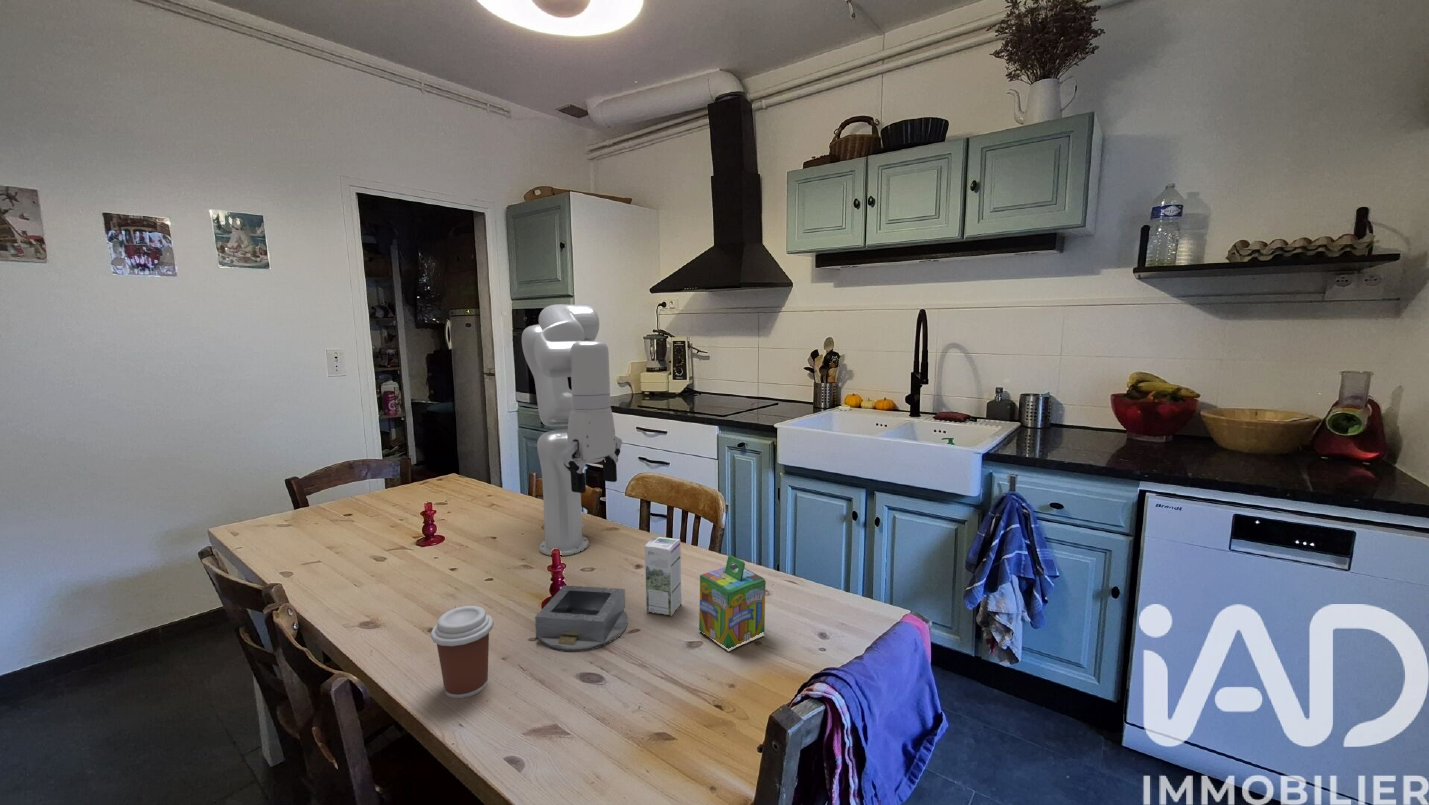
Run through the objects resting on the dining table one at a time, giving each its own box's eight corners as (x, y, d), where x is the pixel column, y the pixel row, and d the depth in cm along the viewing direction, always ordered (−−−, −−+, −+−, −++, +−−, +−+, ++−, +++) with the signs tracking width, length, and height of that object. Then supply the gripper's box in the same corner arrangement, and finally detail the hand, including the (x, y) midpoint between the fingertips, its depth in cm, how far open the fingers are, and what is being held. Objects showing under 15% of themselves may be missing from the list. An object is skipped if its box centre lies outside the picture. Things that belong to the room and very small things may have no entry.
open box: (559, 603, 118) (558, 580, 118) (637, 608, 116) (637, 585, 115) (521, 647, 102) (519, 621, 101) (611, 654, 99) (610, 628, 99)
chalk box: (698, 632, 107) (697, 558, 105) (735, 617, 112) (735, 546, 110) (728, 654, 99) (728, 574, 97) (766, 637, 105) (767, 561, 103)
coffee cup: (486, 702, 87) (481, 629, 85) (425, 706, 86) (419, 632, 84) (503, 667, 96) (499, 601, 94) (448, 670, 95) (443, 603, 94)
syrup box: (682, 604, 117) (681, 537, 116) (671, 618, 112) (670, 548, 110) (657, 600, 119) (656, 534, 118) (645, 613, 114) (643, 544, 112)
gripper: (604, 398, 122) (607, 475, 124) (546, 407, 107) (550, 494, 109) (632, 399, 118) (635, 479, 120) (576, 408, 103) (580, 499, 105)
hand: (595, 486), depth 114 cm, fingers open, 9 cm apart
